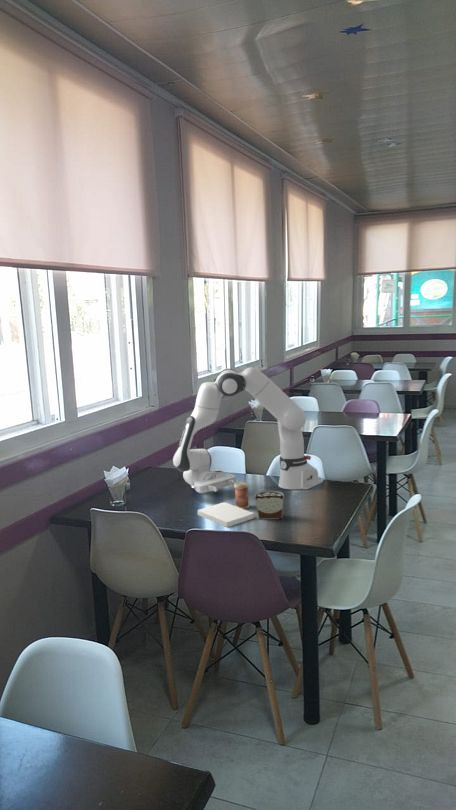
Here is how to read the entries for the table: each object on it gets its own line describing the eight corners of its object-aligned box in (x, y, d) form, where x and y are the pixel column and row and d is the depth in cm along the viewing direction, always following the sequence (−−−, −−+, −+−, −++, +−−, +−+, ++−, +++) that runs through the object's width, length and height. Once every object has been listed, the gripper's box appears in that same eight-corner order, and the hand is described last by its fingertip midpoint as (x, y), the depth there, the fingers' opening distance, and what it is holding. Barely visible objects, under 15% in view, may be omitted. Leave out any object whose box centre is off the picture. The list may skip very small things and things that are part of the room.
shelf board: (224, 506, 244) (224, 502, 244) (254, 518, 228) (254, 513, 228) (197, 514, 236) (197, 510, 236) (226, 527, 220) (226, 522, 220)
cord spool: (243, 503, 247) (242, 481, 245) (252, 506, 242) (251, 484, 240) (232, 507, 243) (230, 484, 241) (241, 510, 238) (240, 487, 237)
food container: (286, 513, 232) (285, 489, 230) (286, 518, 226) (285, 494, 224) (255, 513, 233) (254, 490, 232) (255, 519, 227) (253, 495, 226)
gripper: (188, 479, 254) (206, 485, 243) (224, 469, 267) (243, 475, 256) (189, 492, 255) (207, 499, 244) (225, 482, 268) (244, 488, 257)
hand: (225, 487), depth 250 cm, fingers open, 8 cm apart
